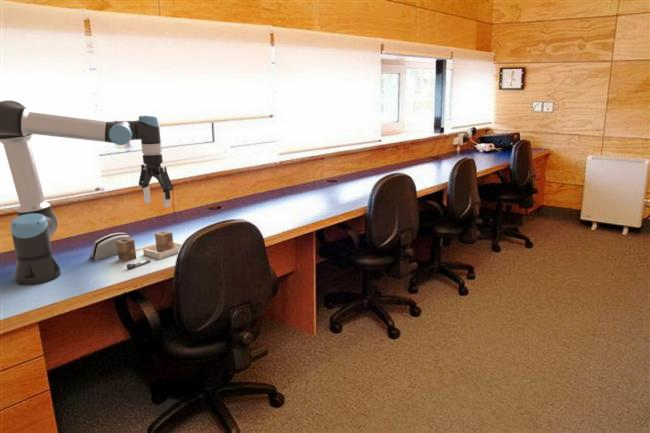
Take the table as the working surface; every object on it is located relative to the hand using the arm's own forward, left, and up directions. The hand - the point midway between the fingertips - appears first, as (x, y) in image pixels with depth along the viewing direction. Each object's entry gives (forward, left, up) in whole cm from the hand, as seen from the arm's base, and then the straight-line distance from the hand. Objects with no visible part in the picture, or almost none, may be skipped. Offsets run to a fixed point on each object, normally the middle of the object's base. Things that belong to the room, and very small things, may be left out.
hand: (157, 204), depth 211 cm
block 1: (-13, +5, -21) cm, 25 cm away
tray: (+1, -1, -21) cm, 21 cm away
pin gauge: (-14, -6, -21) cm, 26 cm away
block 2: (+1, -1, -20) cm, 20 cm away
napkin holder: (-13, +16, -21) cm, 30 cm away
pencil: (+1, +11, -22) cm, 24 cm away
